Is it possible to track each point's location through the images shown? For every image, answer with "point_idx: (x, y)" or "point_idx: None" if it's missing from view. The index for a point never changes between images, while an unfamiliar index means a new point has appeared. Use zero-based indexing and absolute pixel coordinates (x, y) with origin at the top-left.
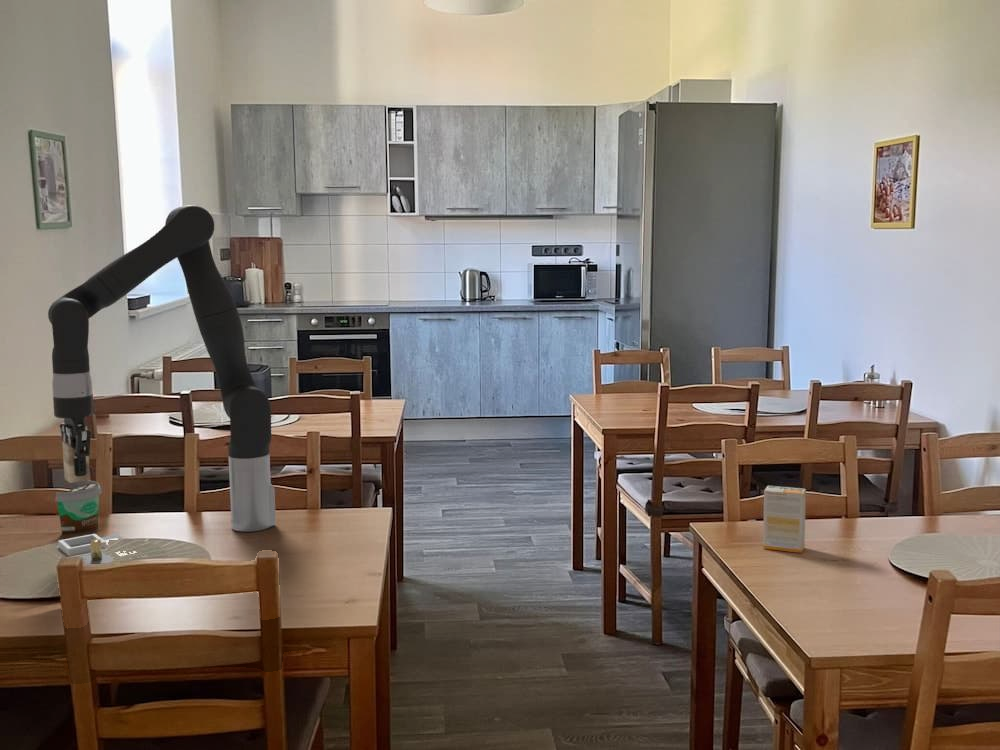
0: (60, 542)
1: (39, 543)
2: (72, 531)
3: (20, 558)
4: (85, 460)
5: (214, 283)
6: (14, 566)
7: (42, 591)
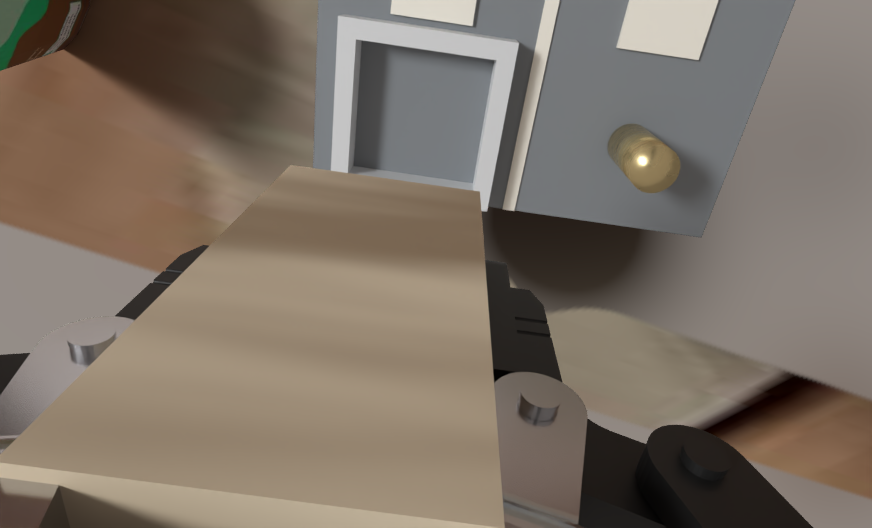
0: None
1: (166, 177)
2: (82, 12)
3: None
4: (517, 353)
5: None
6: None
7: (716, 368)
